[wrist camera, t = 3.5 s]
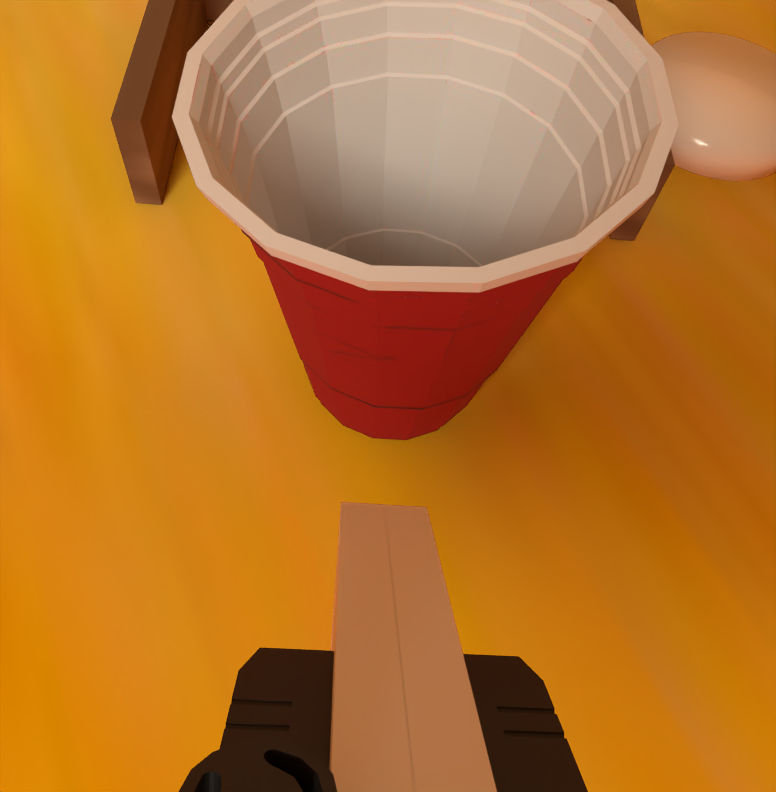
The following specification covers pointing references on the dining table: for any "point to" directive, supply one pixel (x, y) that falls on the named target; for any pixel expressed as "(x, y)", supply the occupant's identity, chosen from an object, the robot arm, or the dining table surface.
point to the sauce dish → (722, 104)
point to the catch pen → (159, 82)
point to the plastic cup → (420, 176)
